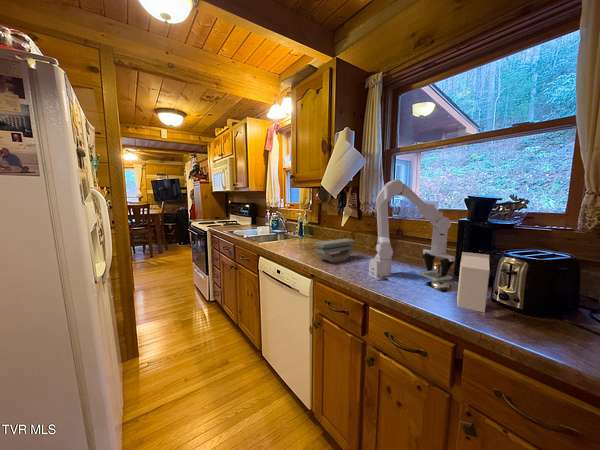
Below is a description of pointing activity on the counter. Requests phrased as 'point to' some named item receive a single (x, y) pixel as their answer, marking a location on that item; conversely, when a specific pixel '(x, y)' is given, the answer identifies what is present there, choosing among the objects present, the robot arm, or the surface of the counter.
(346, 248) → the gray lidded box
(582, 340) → the counter surface
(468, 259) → the milk carton
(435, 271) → the lock pin
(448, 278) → the tray
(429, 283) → the pulley deck
